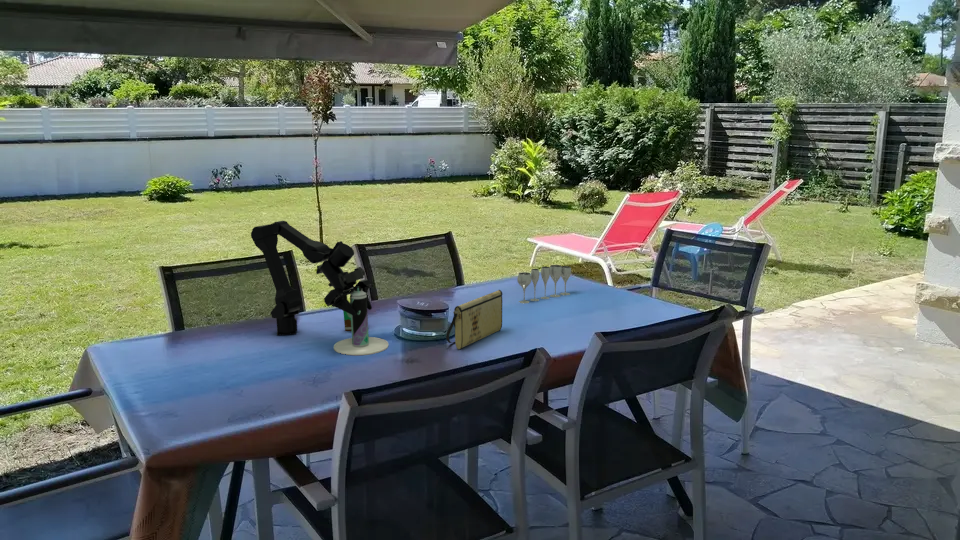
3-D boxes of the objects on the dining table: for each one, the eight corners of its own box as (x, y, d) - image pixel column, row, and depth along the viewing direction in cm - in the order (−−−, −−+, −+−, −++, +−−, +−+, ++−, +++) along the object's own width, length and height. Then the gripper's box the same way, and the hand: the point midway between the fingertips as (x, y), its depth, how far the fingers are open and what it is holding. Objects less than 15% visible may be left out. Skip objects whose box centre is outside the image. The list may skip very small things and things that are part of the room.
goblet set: (564, 292, 317) (565, 262, 314) (573, 294, 313) (574, 264, 310) (514, 301, 301) (514, 270, 298) (523, 304, 296) (523, 272, 294)
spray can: (359, 348, 239) (356, 289, 235) (348, 345, 243) (345, 286, 239) (372, 344, 243) (369, 286, 239) (361, 341, 247) (359, 283, 243)
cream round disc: (335, 357, 232) (335, 355, 232) (332, 340, 249) (331, 339, 249) (391, 352, 237) (391, 351, 237) (384, 336, 254) (384, 335, 254)
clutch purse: (488, 327, 265) (488, 287, 262) (505, 330, 262) (505, 289, 259) (440, 349, 241) (439, 305, 238) (458, 352, 237) (457, 307, 234)
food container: (359, 333, 258) (358, 306, 256) (343, 332, 259) (342, 305, 257) (371, 324, 270) (370, 297, 267) (356, 323, 271) (355, 296, 269)
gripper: (329, 265, 231) (358, 303, 228) (366, 255, 247) (393, 291, 244) (311, 287, 236) (339, 324, 233) (348, 276, 252) (375, 311, 249)
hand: (363, 312), depth 240 cm, fingers open, 8 cm apart
